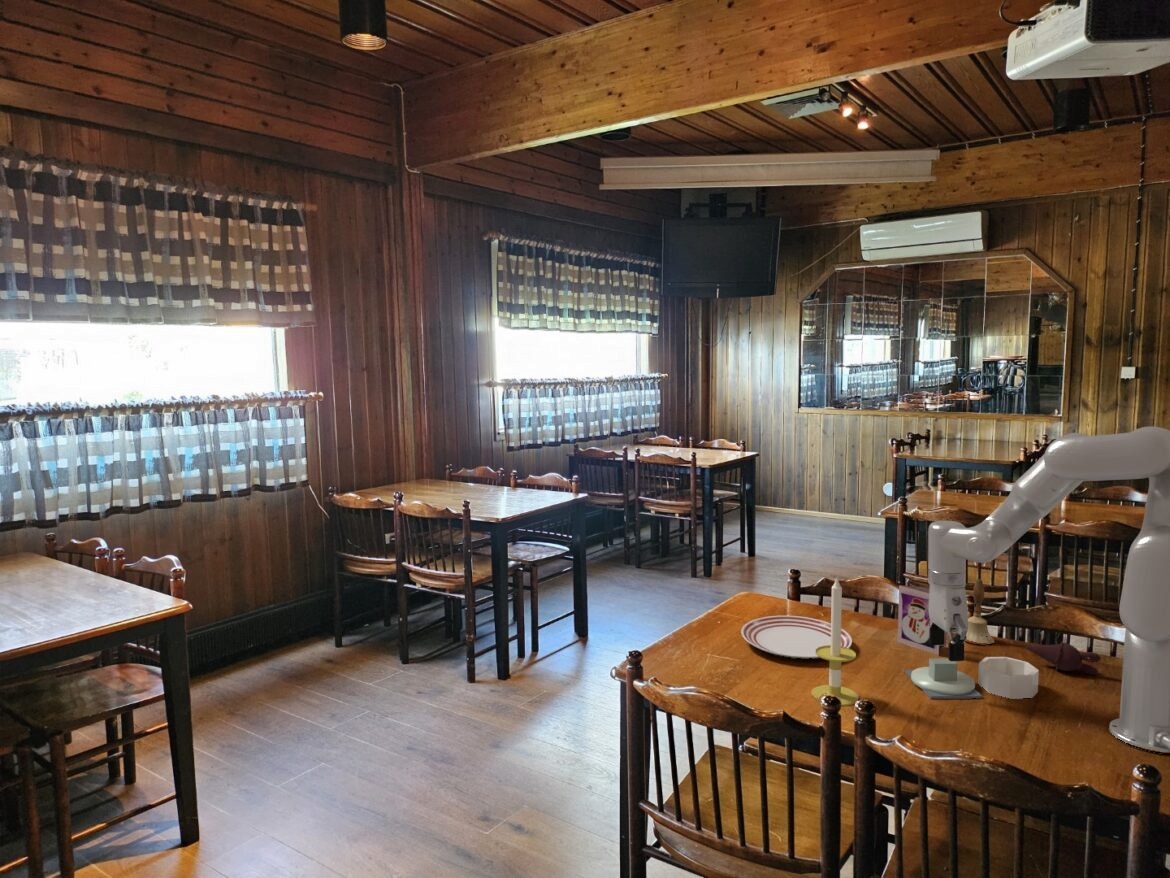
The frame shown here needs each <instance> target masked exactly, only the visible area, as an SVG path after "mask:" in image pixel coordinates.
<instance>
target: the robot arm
mask: <svg viewBox="0 0 1170 878" xmlns="http://www.w3.org/2000/svg"><path fill="white" fill-rule="evenodd" d="M1147 478H1148V480H1149V481H1148V482H1149V483H1148V484H1149V485H1148V491H1147V495H1146V500H1145V510H1144V514H1143V515H1144V516H1143V520H1142V525H1141V529H1140V531H1139V533H1138V535H1137V536H1136V537H1135V538H1134V540H1133V541H1132V543H1131V545H1130V548H1129V551H1128V556H1127V559H1126V565H1125V572H1124V579H1123V583H1122V589H1121V595H1120V602H1119V610H1118V611H1119V617H1120V620H1121V623H1122V624H1123V626H1124V627H1125V631H1124V632H1125V633H1124V643H1123V656H1122V658H1123V659H1122V672H1121V674H1122V675H1121V690H1120V705H1119V717H1118V718H1116V719H1113V720H1111V721H1110V723H1109V725H1108V726H1109V728H1108V731H1109V732H1110V733H1112V734H1111V735H1112V736H1113V735H1114V736H1115V737H1114V736H1113V737H1114V738H1116V739H1117V738H1118V739H1120V740H1122V741H1124V742H1125V743H1124V742H1123V743H1124V744H1126V743H1129V744H1131V745H1135V746H1138V747H1142V748H1145V749H1150V750H1155V751H1160V752H1170V429H1166V428H1164V427H1159V426H1152V425H1151V426H1143V427H1139V428H1137V429H1134V430H1133V431H1131V432H1122V433H1121V432H1120V433H1112V434H1101V435H1100V434H1097V435H1089V434H1087V433H1082V432H1072V433H1068V434H1065V435H1063V436H1061V437H1058V438H1055V440H1053V441H1051V442H1050V444H1049V445H1048V446H1047V448H1046V449H1045V451H1044V454H1043V455H1042V456H1041V457H1039V459H1038V460H1037V461H1036V462H1035V463H1034V464H1033V465H1032V466H1031V467H1030V468H1028V470H1026V471H1025V472H1024V473H1023V474H1022V475H1021V476H1020V477H1019V478H1017V480H1016V481H1015V482H1014V483H1013V485H1012V487H1011V491H1010V493H1009V495H1007V497H1006V498H1005V500H1003V501H1002V503H1000V504H999V506H997V508H995V509H994V510H993V512H991V513H990V514H989V515H988V516H987V517H986V518H985V519H984V520H983V521H982V522H981V523H978V524H977V525H974V526H971V527H966V526H965V525H964V524H962V523H961V522H959V521H954V520H953V521H952V520H936V521H933V522H931V523H930V524H929V525H928V534H927V535H928V539H927V540H928V544H927V545H928V550H927V551H928V552H927V553H928V554H927V555H928V558H927V560H928V563H927V565H928V566H927V567H928V568H927V569H928V571H927V576H928V577H927V578H928V579H927V581H928V582H927V583H928V584H929V588H930V589H929V604H928V611H929V614H928V617H929V620H930V621H929V627H932V628H929V643H930V645H944V631H946V632H947V635H948V638H949V641H950V642H948V643H947V644H948V646H947V647H948V654H947V655H948V656H947V657H948V659H949V661H955V662H964V661H965V644H966V642H965V640H966V638H967V637H966V634H967V631H968V618H969V612H968V599H967V598H968V597H967V591H966V588H965V587H966V581H967V580H966V577H967V576H966V575H967V573H966V572H967V571H966V570H967V568H966V567H967V565H966V563H967V562H966V561H971V562H974V563H980V564H983V563H984V564H986V563H989V562H992V561H993V560H995V559H996V558H998V557H999V556H1001V554H1003V553H1005V552H1006V551H1008V549H1010V547H1012V546H1014V544H1015V543H1016V542H1017V541H1018V540H1019V539H1020V538H1022V537H1023V536H1024V534H1026V533H1027V532H1028V531H1029V530H1030V529H1031V528H1032V527H1034V525H1036V524H1037V522H1039V521H1040V520H1041V519H1042V518H1044V517H1046V516H1047V515H1049V513H1051V512H1052V511H1053V510H1054V509H1055V508H1056V507H1057V506H1058V505H1060V503H1061V502H1063V501H1064V500H1065V498H1067V497H1068V496H1069V495H1070V494H1071V493H1072V492H1073V491H1074V490H1075V489H1076V488H1078V487H1079V486H1080V485H1081V484H1082V483H1083V482H1095V481H1097V482H1100V481H1116V480H1117V481H1118V480H1119V481H1122V480H1138V479H1140V480H1141V479H1147ZM954 634H955V635H954ZM1120 740H1119V741H1120ZM1122 741H1121V742H1122Z"/></svg>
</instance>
